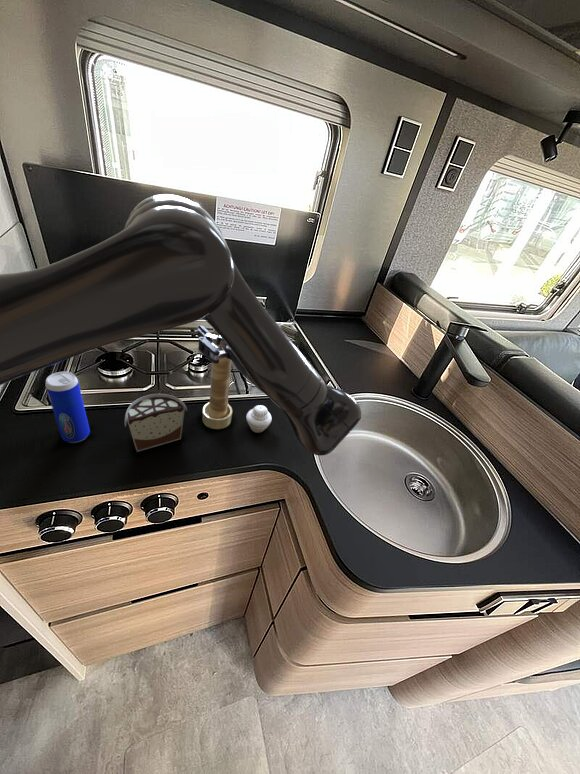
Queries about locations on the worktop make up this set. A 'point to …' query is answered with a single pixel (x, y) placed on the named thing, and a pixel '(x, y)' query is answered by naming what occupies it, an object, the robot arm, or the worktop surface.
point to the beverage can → (68, 406)
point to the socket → (214, 422)
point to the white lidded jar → (258, 418)
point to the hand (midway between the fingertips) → (218, 326)
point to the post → (219, 386)
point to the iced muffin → (155, 420)
